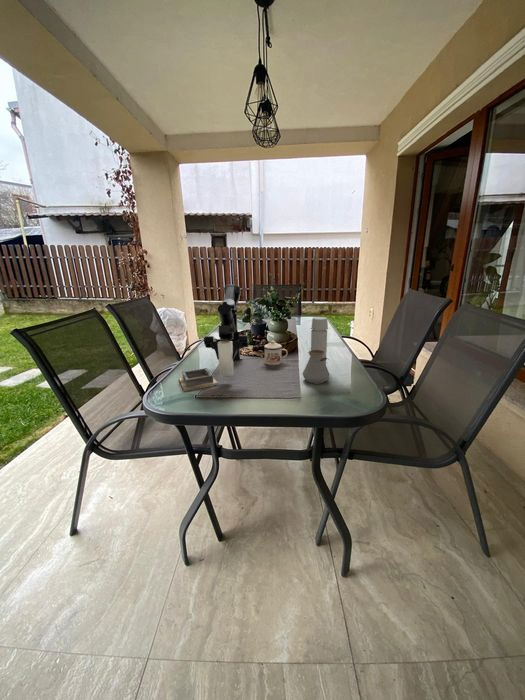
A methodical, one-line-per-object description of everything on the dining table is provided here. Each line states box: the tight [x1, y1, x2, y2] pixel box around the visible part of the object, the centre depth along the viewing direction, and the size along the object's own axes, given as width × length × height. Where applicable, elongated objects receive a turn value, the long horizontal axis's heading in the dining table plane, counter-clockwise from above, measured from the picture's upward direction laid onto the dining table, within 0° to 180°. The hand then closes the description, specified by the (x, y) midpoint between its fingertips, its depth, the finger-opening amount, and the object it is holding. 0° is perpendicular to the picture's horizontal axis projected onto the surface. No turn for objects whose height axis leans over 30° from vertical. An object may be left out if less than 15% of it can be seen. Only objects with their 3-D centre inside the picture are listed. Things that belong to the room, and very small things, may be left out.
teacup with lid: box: [263, 340, 289, 366], centre depth 147 cm, size 12×9×12 cm
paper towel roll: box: [218, 340, 235, 377], centre depth 121 cm, size 6×6×14 cm
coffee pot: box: [302, 349, 330, 385], centre depth 118 cm, size 21×12×15 cm, turn 3°
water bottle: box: [310, 316, 329, 365], centre depth 133 cm, size 9×8×25 cm
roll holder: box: [178, 367, 219, 392], centre depth 125 cm, size 14×14×4 cm
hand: (225, 359), depth 120 cm, fingers closed on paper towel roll, 6 cm apart
